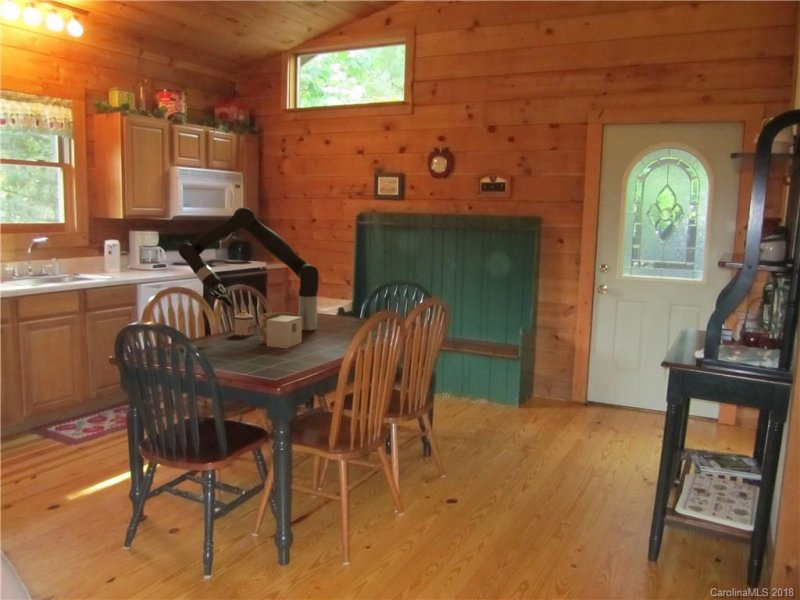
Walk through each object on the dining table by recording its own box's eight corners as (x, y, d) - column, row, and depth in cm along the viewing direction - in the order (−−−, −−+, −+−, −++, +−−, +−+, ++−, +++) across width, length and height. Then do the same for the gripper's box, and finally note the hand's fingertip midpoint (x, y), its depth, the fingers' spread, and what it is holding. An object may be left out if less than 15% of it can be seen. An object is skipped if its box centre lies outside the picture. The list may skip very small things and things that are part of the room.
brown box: (260, 342, 298) (259, 314, 296) (269, 339, 305) (269, 312, 303) (289, 346, 293) (289, 317, 291) (298, 342, 300) (298, 314, 298)
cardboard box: (266, 346, 293) (266, 319, 292) (282, 340, 306) (282, 315, 305) (286, 348, 290) (286, 321, 288) (301, 342, 303) (301, 317, 301)
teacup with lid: (251, 336, 314) (251, 312, 312) (232, 336, 313) (232, 312, 312) (256, 331, 326) (255, 308, 324) (237, 331, 325) (237, 308, 324)
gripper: (204, 273, 300) (227, 301, 298) (221, 271, 312) (243, 298, 310) (194, 284, 302) (217, 312, 300) (212, 281, 315) (234, 308, 312)
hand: (231, 305), depth 305 cm, fingers closed
